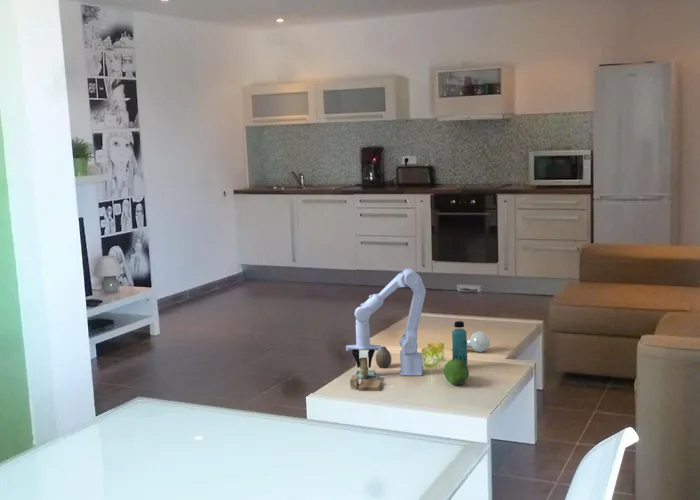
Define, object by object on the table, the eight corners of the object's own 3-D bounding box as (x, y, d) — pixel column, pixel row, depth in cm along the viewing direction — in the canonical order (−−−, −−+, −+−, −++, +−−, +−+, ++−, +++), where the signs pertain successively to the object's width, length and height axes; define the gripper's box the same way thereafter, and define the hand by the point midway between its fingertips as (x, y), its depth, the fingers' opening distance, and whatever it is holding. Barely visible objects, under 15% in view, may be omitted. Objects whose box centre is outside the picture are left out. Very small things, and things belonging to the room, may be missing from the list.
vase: (392, 364, 356) (391, 345, 355) (391, 368, 349) (390, 349, 348) (376, 364, 357) (375, 345, 356) (375, 369, 350) (374, 349, 349)
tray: (375, 373, 343) (375, 370, 343) (372, 378, 335) (372, 375, 335) (356, 373, 344) (356, 370, 344) (353, 378, 337) (353, 375, 336)
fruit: (444, 377, 334) (443, 353, 332) (468, 377, 332) (467, 353, 331) (444, 388, 319) (443, 363, 317) (469, 388, 318) (469, 363, 316)
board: (381, 384, 329) (381, 379, 329) (379, 392, 319) (378, 387, 319) (362, 384, 330) (361, 379, 330) (358, 392, 320) (358, 387, 320)
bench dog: (358, 384, 328) (358, 375, 328) (356, 389, 322) (356, 379, 322) (352, 384, 329) (352, 375, 328) (350, 389, 323) (350, 379, 322)
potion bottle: (492, 355, 369) (459, 358, 372) (490, 339, 376) (458, 342, 379) (489, 342, 363) (456, 346, 366) (488, 326, 370) (455, 329, 373)
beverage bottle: (450, 369, 345) (449, 323, 343) (454, 364, 351) (453, 319, 349) (465, 370, 343) (464, 323, 340) (469, 365, 349) (468, 320, 346)
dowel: (368, 373, 341) (367, 357, 341) (368, 375, 338) (366, 358, 338) (360, 374, 341) (359, 357, 341) (360, 375, 338) (359, 359, 338)
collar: (380, 378, 336) (380, 374, 336) (378, 383, 329) (378, 379, 329) (363, 378, 337) (363, 374, 337) (361, 383, 330) (361, 379, 330)
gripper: (344, 337, 335) (345, 369, 337) (379, 337, 333) (380, 369, 334) (346, 333, 342) (348, 365, 344) (381, 333, 339) (382, 365, 341)
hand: (364, 367), depth 339 cm, fingers open, 4 cm apart
